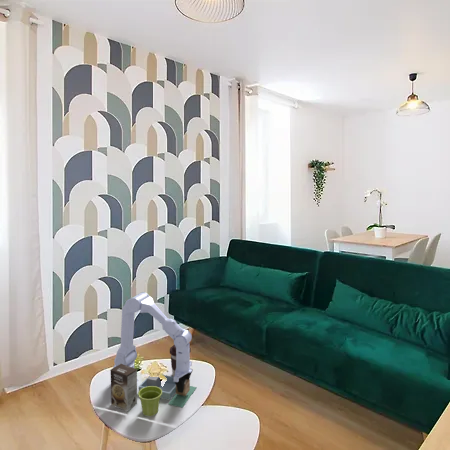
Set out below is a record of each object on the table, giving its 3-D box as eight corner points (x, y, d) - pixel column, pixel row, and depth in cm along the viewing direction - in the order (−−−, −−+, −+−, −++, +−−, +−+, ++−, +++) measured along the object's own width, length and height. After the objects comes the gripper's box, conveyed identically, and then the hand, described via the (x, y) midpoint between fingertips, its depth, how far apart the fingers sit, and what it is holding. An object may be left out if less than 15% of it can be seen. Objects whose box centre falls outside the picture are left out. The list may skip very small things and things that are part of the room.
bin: (138, 393, 163) (138, 386, 163) (152, 379, 175) (152, 372, 174) (170, 401, 159) (170, 393, 158) (182, 385, 170) (182, 378, 170)
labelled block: (175, 393, 160) (175, 382, 159) (180, 388, 164) (180, 377, 164) (185, 395, 159) (185, 384, 158) (189, 390, 163) (189, 379, 162)
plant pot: (151, 402, 158) (151, 383, 157) (167, 411, 152) (166, 391, 151) (133, 413, 151) (133, 393, 149) (148, 423, 145) (148, 402, 143)
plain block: (146, 389, 166) (146, 378, 166) (151, 383, 171) (151, 373, 170) (155, 390, 165) (155, 380, 164) (160, 385, 169) (160, 375, 169)
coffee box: (110, 406, 155) (109, 369, 153) (121, 397, 160) (120, 362, 158) (127, 412, 151) (126, 375, 148) (138, 404, 156) (137, 368, 154)
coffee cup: (188, 381, 174) (188, 351, 172) (167, 380, 175) (167, 350, 172) (192, 370, 184) (192, 341, 182) (172, 369, 184) (172, 340, 182)
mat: (168, 405, 156) (168, 403, 156) (183, 386, 170) (183, 384, 170) (182, 408, 154) (182, 406, 154) (196, 388, 168) (196, 387, 168)
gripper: (184, 369, 151) (184, 400, 153) (198, 353, 165) (197, 381, 167) (168, 366, 154) (168, 396, 155) (183, 350, 167) (183, 378, 169)
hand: (182, 388), depth 161 cm, fingers closed on labelled block, 4 cm apart
